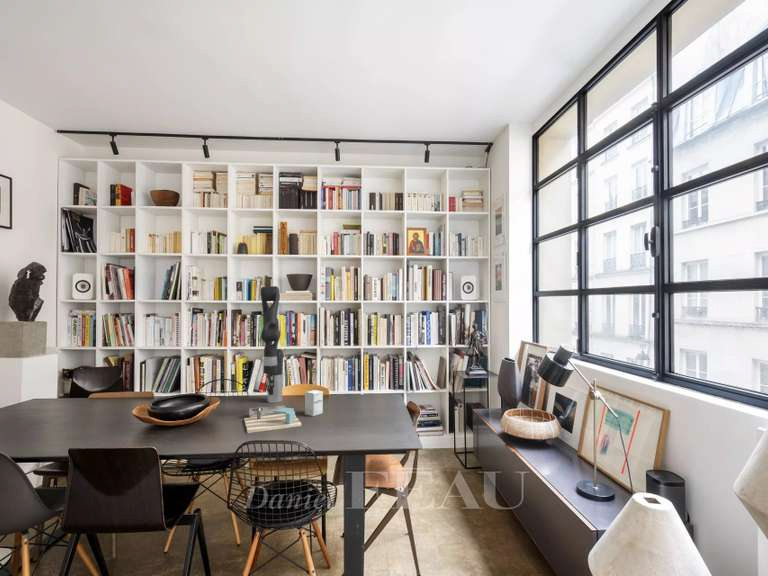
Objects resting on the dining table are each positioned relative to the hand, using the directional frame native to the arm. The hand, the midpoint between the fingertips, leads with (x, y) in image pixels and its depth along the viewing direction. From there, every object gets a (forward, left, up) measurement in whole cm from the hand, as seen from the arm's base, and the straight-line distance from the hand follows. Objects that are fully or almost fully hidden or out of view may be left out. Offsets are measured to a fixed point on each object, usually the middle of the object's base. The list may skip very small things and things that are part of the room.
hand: (270, 393), depth 214 cm
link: (0, -1, -12) cm, 12 cm away
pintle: (+9, -7, -12) cm, 17 cm away
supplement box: (+8, +23, -13) cm, 28 cm away
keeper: (+19, +5, -12) cm, 23 cm away
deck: (+15, -1, -12) cm, 20 cm away
